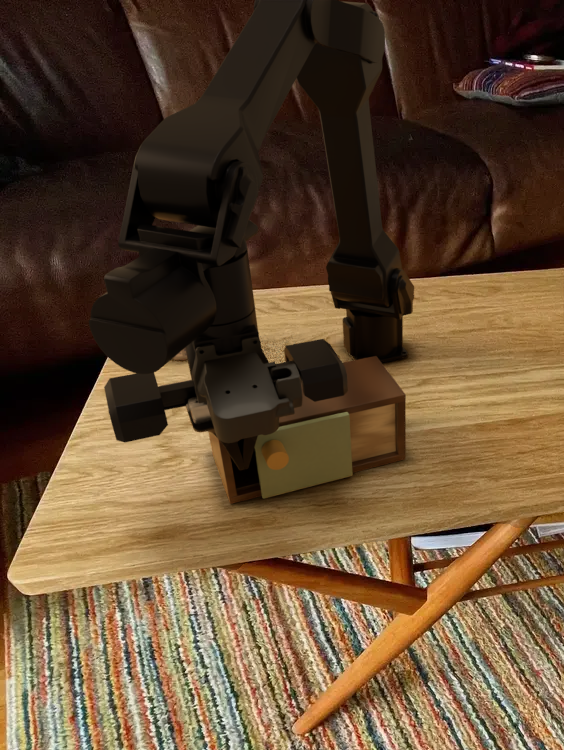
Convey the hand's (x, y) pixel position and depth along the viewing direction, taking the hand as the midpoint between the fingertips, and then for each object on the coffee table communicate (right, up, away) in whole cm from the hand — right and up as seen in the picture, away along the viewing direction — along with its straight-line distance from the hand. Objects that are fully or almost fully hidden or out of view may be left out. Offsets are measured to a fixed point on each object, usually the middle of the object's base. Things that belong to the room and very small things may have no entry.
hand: (242, 467), depth 68 cm
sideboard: (+4, +1, +10) cm, 11 cm away
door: (+5, -2, +5) cm, 8 cm away
